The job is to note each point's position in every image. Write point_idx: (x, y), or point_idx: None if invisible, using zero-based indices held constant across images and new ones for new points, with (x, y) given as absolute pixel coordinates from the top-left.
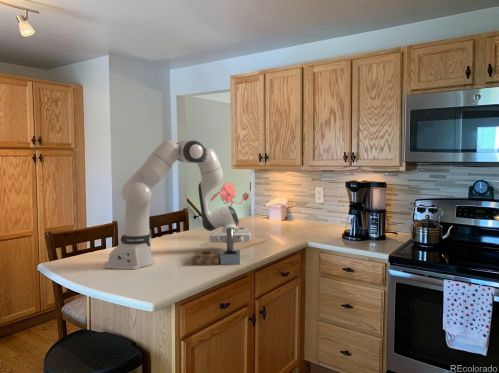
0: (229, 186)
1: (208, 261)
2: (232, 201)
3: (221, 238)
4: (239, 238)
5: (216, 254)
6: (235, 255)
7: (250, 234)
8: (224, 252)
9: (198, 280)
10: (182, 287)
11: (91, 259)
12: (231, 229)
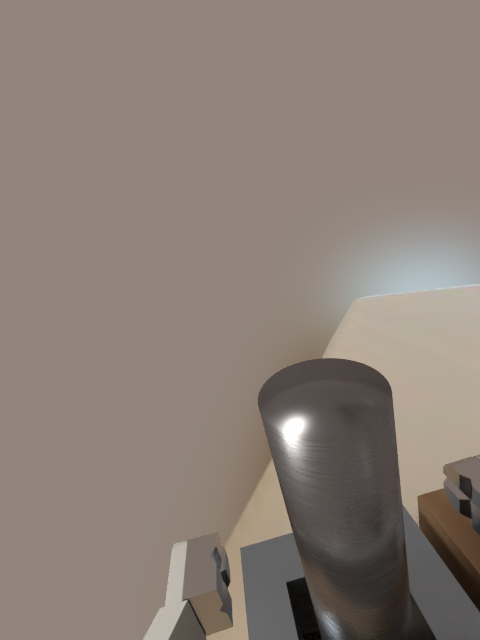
0: None
1: None
2: None
3: (470, 481)
4: (202, 539)
5: (455, 515)
6: (278, 540)
7: None
8: (443, 636)
9: (351, 358)
10: (358, 329)
11: None
12: (278, 374)
